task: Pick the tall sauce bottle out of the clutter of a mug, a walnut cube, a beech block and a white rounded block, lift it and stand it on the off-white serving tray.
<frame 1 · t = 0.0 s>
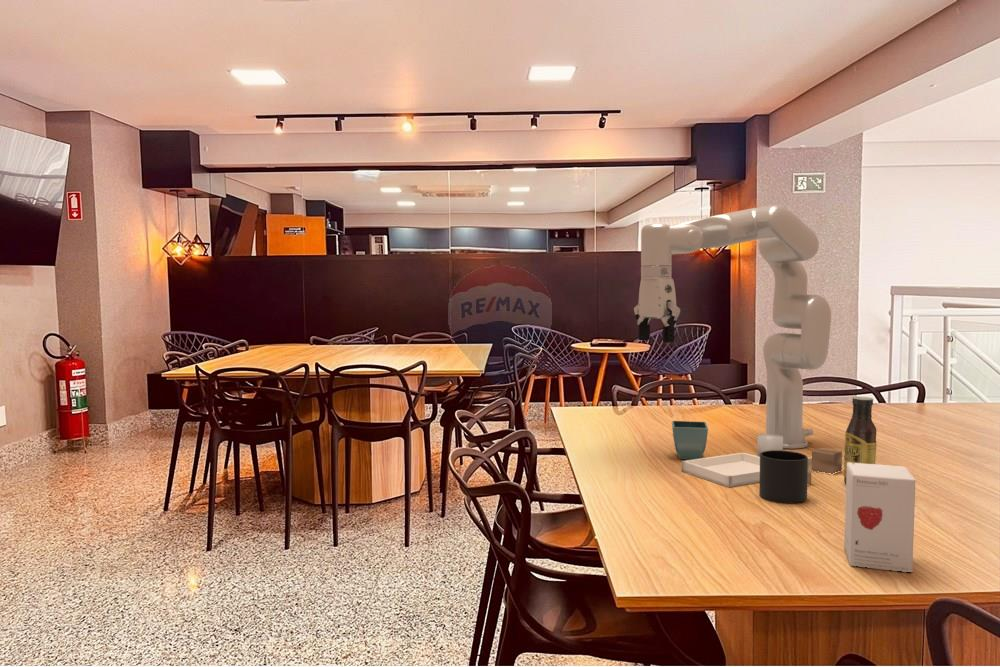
hand: (656, 341, 178), 31 cm above the table, tool pointing down, fingers open, 9 cm apart
supplement box: (877, 561, 114), on the table
sauce bottle: (859, 486, 158), on the table
tray: (736, 473, 168), on the table
walnut cube: (826, 471, 170), on the table
white rounded block: (769, 463, 178), on the table
mug: (783, 496, 150), on the table
beech block: (798, 482, 161), on the table
flower pot: (689, 458, 185), on the table
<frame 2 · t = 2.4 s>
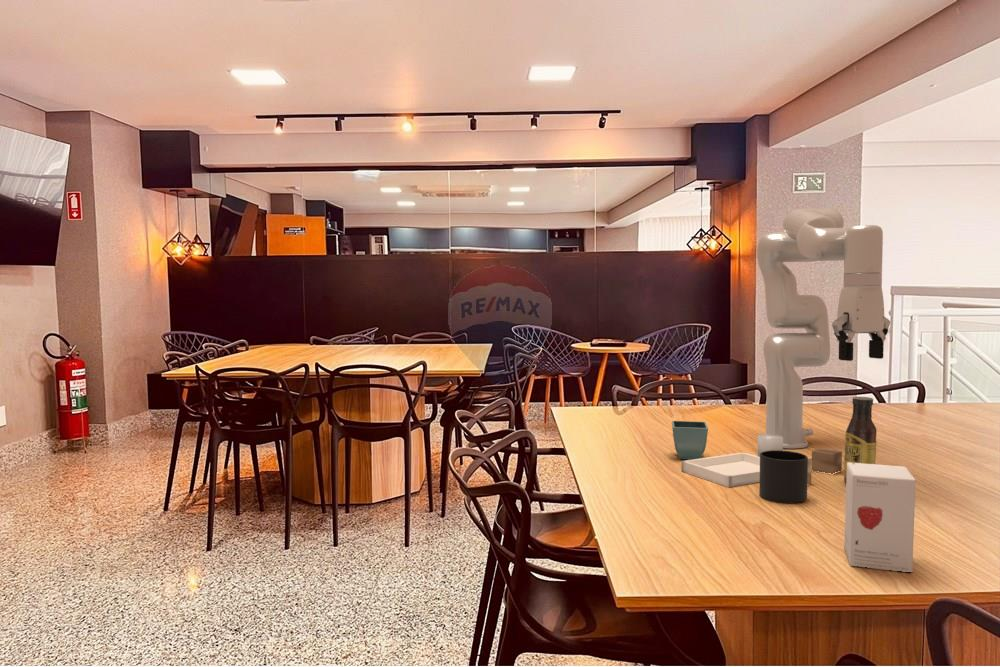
hand: (861, 359, 156), 28 cm above the table, tool pointing down, fingers open, 9 cm apart
nothing on the table moved.
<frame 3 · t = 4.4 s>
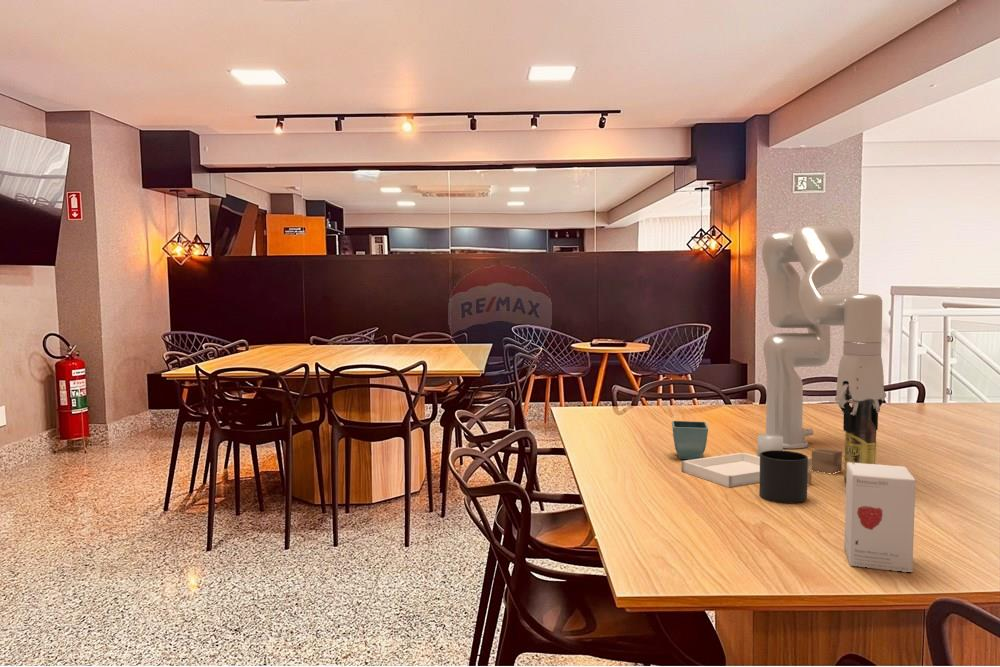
hand: (860, 429, 157), 13 cm above the table, tool pointing down, fingers closed on sauce bottle, 5 cm apart
sauce bottle: (859, 486, 158), on the table, touching gripper
everything else where it was.
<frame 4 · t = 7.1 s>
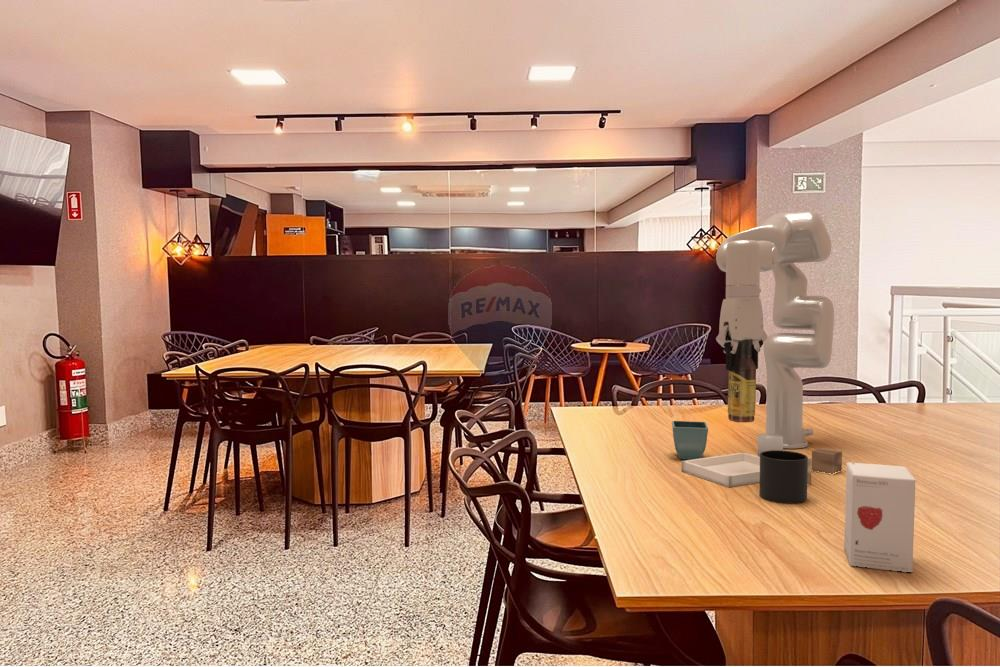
hand: (741, 368, 166), 25 cm above the table, tool pointing down, fingers closed on sauce bottle, 5 cm apart
sauce bottle: (741, 421, 167), point 13 cm above the table, touching gripper
everything else where it was.
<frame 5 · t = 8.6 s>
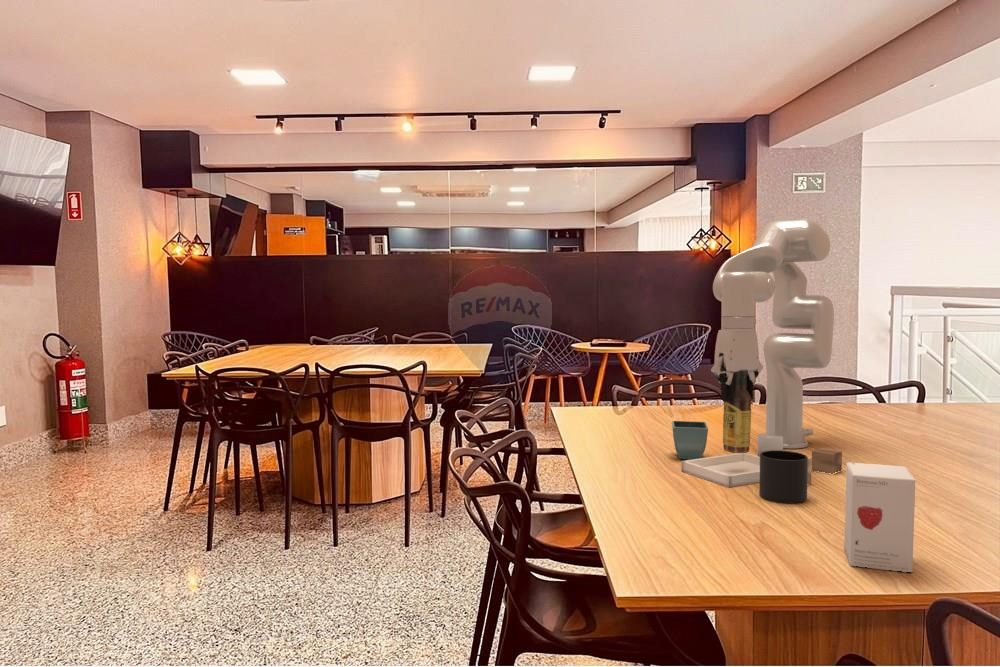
hand: (737, 399, 167), 18 cm above the table, tool pointing down, fingers closed on sauce bottle, 5 cm apart
sauce bottle: (736, 452, 168), point 5 cm above the table, touching gripper
everything else where it was.
when the fingers open (14 cm above the table, at t = 9.8 s): sauce bottle stays where it is, resting on tray.
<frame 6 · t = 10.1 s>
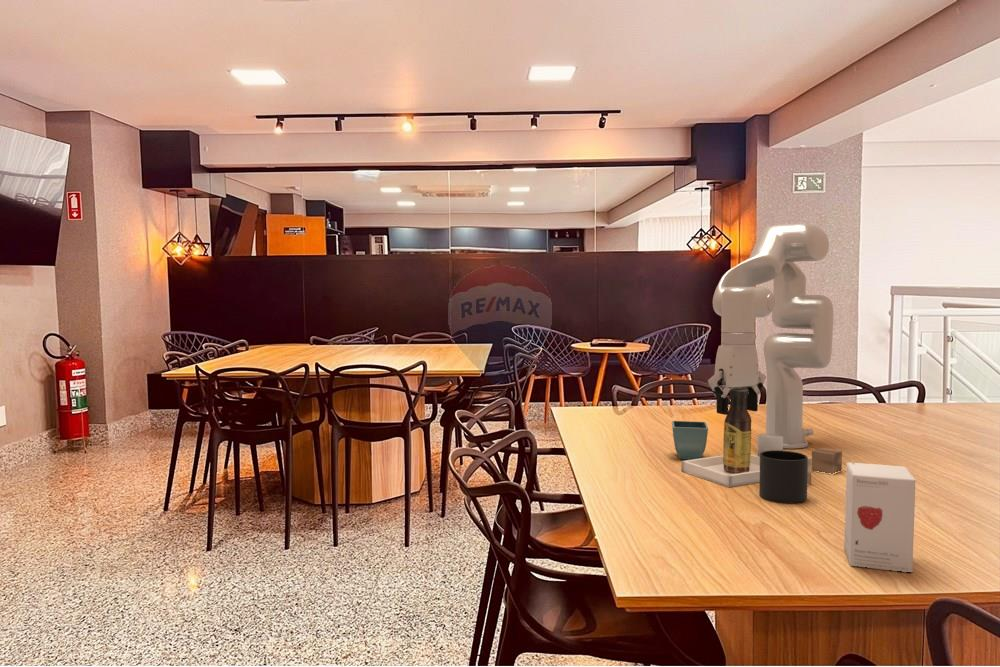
hand: (737, 412, 167), 15 cm above the table, tool pointing down, fingers open, 8 cm apart
sauce bottle: (736, 472, 168), resting on tray
everything else where it was.
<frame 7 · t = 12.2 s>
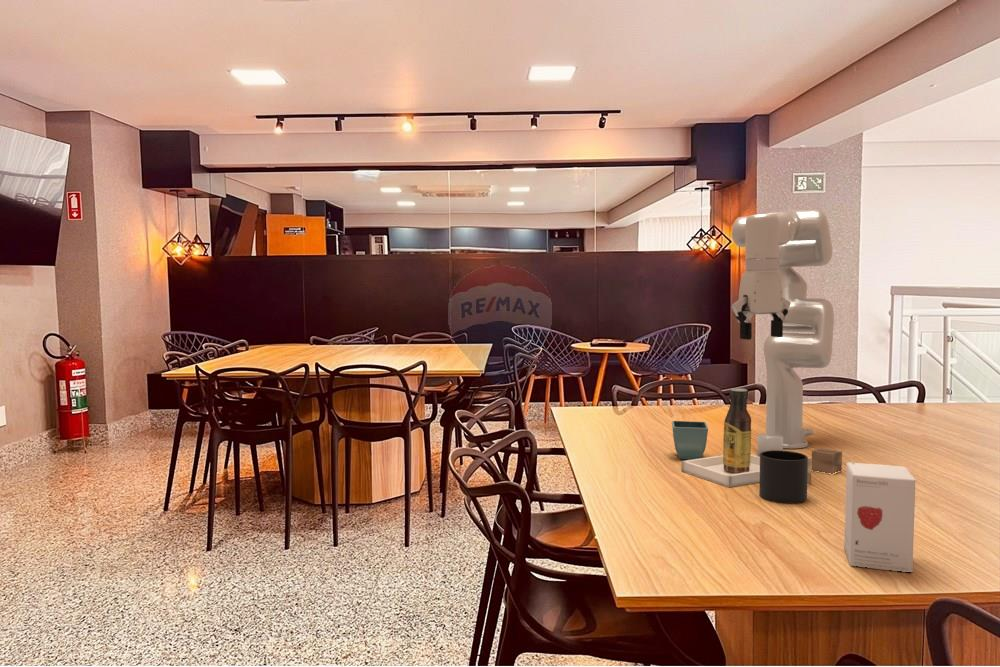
hand: (761, 338, 169), 32 cm above the table, tool pointing down, fingers open, 9 cm apart
nothing on the table moved.
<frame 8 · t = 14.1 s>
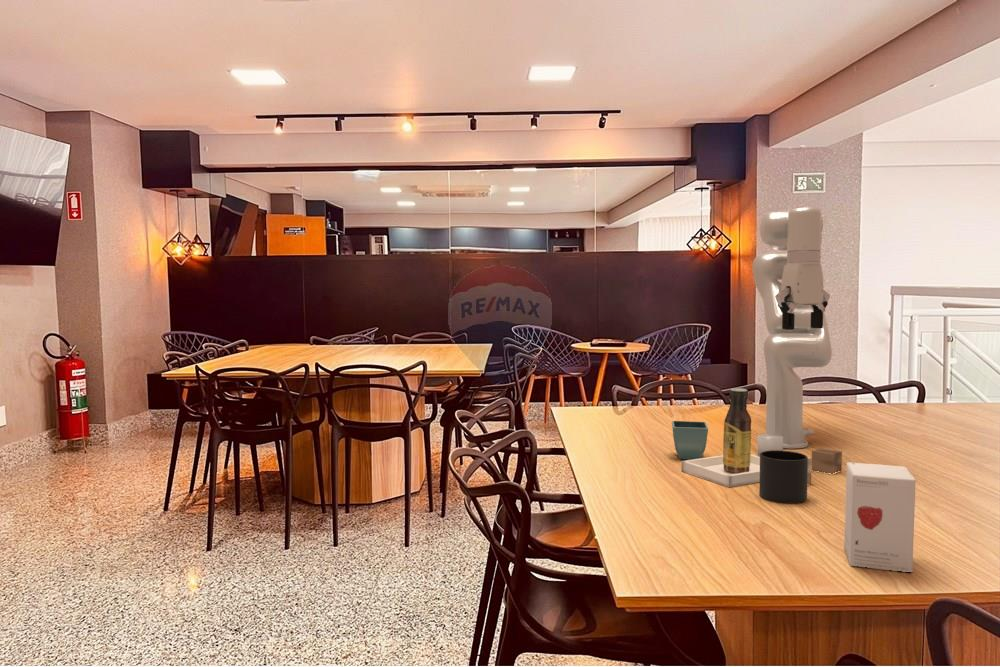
hand: (802, 328, 173), 34 cm above the table, tool pointing down, fingers open, 9 cm apart
nothing on the table moved.
at the end: sauce bottle inside the target area on the tray (0.1 cm from its centre), point 0.4 cm above the tray's base; sauce bottle tilted 0°; the gripper is holding nothing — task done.
